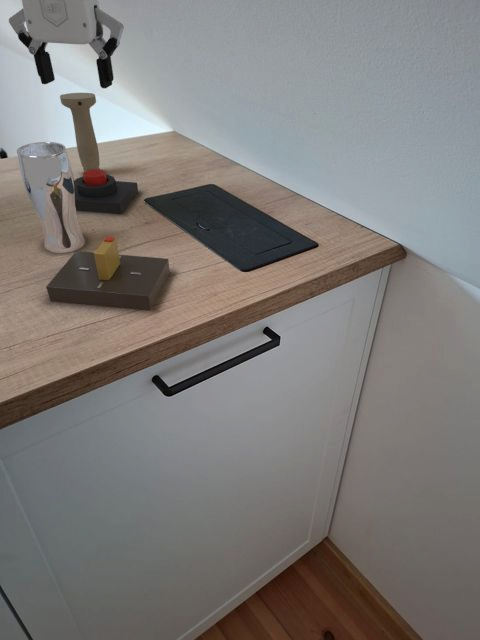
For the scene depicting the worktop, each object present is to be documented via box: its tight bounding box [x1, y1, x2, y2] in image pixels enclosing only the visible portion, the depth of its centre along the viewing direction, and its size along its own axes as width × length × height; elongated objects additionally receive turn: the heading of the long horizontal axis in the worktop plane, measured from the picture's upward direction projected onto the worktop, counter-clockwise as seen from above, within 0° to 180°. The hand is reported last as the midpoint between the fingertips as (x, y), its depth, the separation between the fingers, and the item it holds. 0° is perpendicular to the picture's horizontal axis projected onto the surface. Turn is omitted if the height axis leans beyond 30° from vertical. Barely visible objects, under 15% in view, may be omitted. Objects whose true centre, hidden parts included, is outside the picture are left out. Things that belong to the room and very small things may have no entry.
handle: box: [59, 92, 101, 173], centre depth 98 cm, size 5×6×15 cm
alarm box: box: [74, 173, 139, 215], centre depth 91 cm, size 12×10×4 cm
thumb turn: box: [94, 236, 120, 280], centre depth 67 cm, size 5×1×4 cm, turn 173°
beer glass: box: [16, 141, 86, 254], centre depth 74 cm, size 7×7×15 cm
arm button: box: [82, 169, 107, 186], centre depth 89 cm, size 4×4×2 cm
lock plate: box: [45, 250, 171, 312], centre depth 69 cm, size 14×10×3 cm
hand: (77, 84), depth 77 cm, fingers open, 9 cm apart
